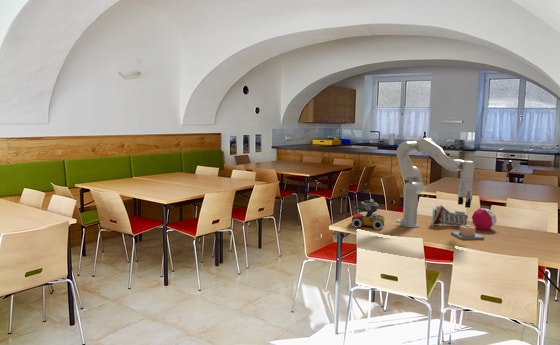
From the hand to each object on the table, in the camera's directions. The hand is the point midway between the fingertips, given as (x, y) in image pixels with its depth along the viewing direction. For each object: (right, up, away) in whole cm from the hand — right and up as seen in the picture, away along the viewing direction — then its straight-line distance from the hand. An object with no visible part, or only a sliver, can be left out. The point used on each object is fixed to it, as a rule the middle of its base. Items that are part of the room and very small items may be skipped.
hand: (463, 205), depth 278 cm
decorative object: (+23, -18, +22) cm, 37 cm away
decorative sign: (+2, -17, +29) cm, 33 cm away
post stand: (+1, -20, -1) cm, 20 cm away
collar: (+1, -18, -2) cm, 18 cm away
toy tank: (-58, -16, +23) cm, 64 cm away
